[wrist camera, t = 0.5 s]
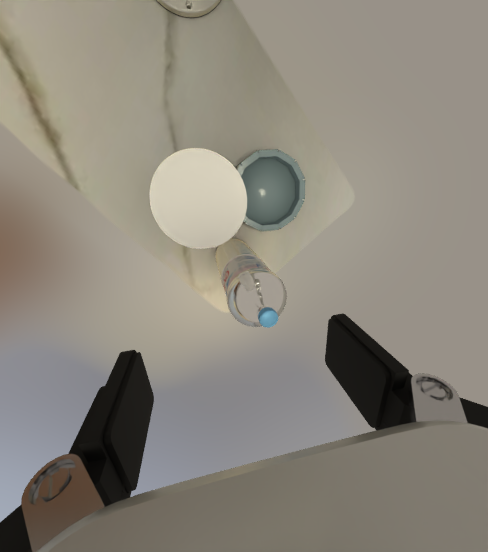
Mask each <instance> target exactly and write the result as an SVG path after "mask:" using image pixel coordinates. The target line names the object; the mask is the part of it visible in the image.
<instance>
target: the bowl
mask: <svg viewBox="0 0 488 552" xmlns="http://www.w3.org/2000/svg"><path fill="white" fill-rule="evenodd" d="M294 161H295V159H293V158H292V157H290V156H288V155H287V154H285V153H284V152H282V151H280V150H278V149H274V150H258V151H256V152H255V153H253V154H252V155H251V156H249V157H248V158H247V159H245V160H244V161H243V162H241V163H240V164H239V165H238V166H237V167H236V170H237V171H238V172H239V174H240V176H241V178H242V180H243V182H244V185H245V188H246V194H247V210H246V214H245V218H244V220H243V223H245V224H247V225H249V226H251V227H253V228H255V229H257V230H259V231H269V230H279V229H281V228H282V227H284V226H285V225H287V224H288V223H289V222H291V221H292V220H294V219H295V218H294V217H296V216H297V214H298V212H299V210H300V208H301V206H302V204H303V202H304V200H302V199H305V180H303V179H305V178H304V176H303V174H302V172H301V170H300V167H299V165H298V163H297V161H295V162H294Z"/></svg>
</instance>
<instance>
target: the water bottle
mask: <svg viewBox="0 0 488 552" xmlns="http://www.w3.org/2000/svg"><path fill="white" fill-rule="evenodd" d="M216 263H217V267H218V270H219V274H220V278H221V281H222V285H223V287H224V289H225V292H226V296H227V304H228V308H229V310H230V312H231V314H232V315H233V317H234V318H235V319H236V320H237V321H239V322H240V323H242V324H244V325H247V326H252V327H260V326H263V327H272V326H274V325H275V324H276V323H277V321H278V317H279V316H280V314H281V313H282V311H283V309H284V307H285V305H286V299H287V293H286V289H285V286H284V284H283V282H282V281H281V279H280V278H279V277H278V276H277V275H276V274H275V273H273V272H272V271H271V270H270V269H269V268H268V267H267V266H266V265H265V264H264V262H263V261H262V260H261V259H260V258H259V257H258V256H257V254H256V253H255V252H254V251H253V250H252V249H251V248H250V247H249V246H248V245H247V244H246V243H245V242H243V241H241V240H239V239H235V238H231V239H229V240H228V241H226V242H225V243H223V244H221V245H219V246H218V248H217V250H216Z"/></svg>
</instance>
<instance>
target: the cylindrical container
mask: <svg viewBox="0 0 488 552" xmlns="http://www.w3.org/2000/svg"><path fill="white" fill-rule="evenodd" d="M149 198H150V207H151V210H152V213H153V216H154V218H155V220H156V222H157V224H158V225H159V227H160V228H161V229H162V231H163V232H164V233H165V234H166V235H167V236H168V237H169V238H171V239H172V240H174V241H175V242H177V243H178V244H181V245H183V246H186V247H189V248H194V249H208V248H213V247H217V246H219V245H221V244H223V243H225V242H226V241H228V240H229V239H231V238H232V237H233V236H234V235H235V234H236V232H237V231H238V230H239V228H240V227H241V225H242V223H243V220H244V218H245V214H246V210H247V194H246V188H245V185H244V182H243V180H242V178H241V176H240V174H239V172H238V171H237V170H236V168H235V167H234V166H233V165H232V163H230V162H229V161H228V160H227V159H226V158H224V157H223V156H221V155H219V154H218V153H216V152H213V151H210V150H207V149H202V148H190V149H183V150H181V151H178V152H176V153H173V154H172V155H170V156H169V157H167V158H166V159H165V160H164V161H163V162H162V163H161V164H160V165H159V167H158V168H157V170H156V172H155V173H154V175H153V178H152V181H151V184H150V193H149Z"/></svg>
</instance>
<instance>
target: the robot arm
mask: <svg viewBox="0 0 488 552" xmlns="http://www.w3.org/2000/svg"><path fill="white" fill-rule="evenodd" d="M157 1H158V2H159V3H160V4H161V5H163V6H164V7H165V8H166V9H168V10H170V11H171V12H173V13H175V14H178V15H180V16H183V17H199V16H202V15H205V14H207V13H209V12H210V11H211V10H213V9H214V8H215V7H216V6H217V5H218V3H219V2H220V1H221V0H157ZM188 8H190V9H188ZM325 362H326V365H327V366H328V368H329V369H330V371H331V372H332V374H333V375H334V376H335V378H336V379H337V380H338V382H339V383H340V385H341V386H342V388H343V389H344V390H345V392H346V393H347V394H348V396H349V397H350V399H351V400H352V401H353V403H354V404H355V406H356V407H357V408H358V410H359V411H360V413H361V414H362V415H363V417H364V418H365V420H366V421H367V422H368V424H369V425H370V426H371V427H373V428H375V429H376V430H377V431H373V432H369V433H366V434H361V435H358V436H353V437H349V438H345V439H342V440H338V441H334V442H330V443H326V444H322V445H318V446H314V447H311V448H307V449H303V450H299V451H296V452H292V453H288V454H284V455H281V456H277V457H273V458H269V459H265V460H261V461H257V462H254V463H250V464H247V465H243V466H239V467H235V468H231V469H228V470H224V471H220V472H216V473H213V474H209V475H206V476H202V477H198V478H194V479H190V480H187V481H183V482H180V483H176V484H173V485H169V486H166V487H162V488H159V489H155V490H152V491H149V492H145V493H142V494H138V495H136V496H133V497H130V495H131V491H133V490H135V489H136V487H137V483H138V477H139V473H140V468H141V463H142V457H143V452H144V447H145V443H146V437H147V432H148V427H149V422H150V416H151V412H152V407H153V402H154V396H153V392H152V389H151V385H150V382H149V379H148V376H147V372H146V369H145V366H144V362H143V359H142V356H141V353H140V352H138V353H137V352H136V351H135V350H130V351H125V352H121V353H120V354H119V357H118V359H117V361H116V363H115V366H114V368H113V370H112V372H111V374H110V376H109V379H108V381H107V384H106V385H105V386H103V387H101V388H100V389H99V391H98V393H97V395H96V397H95V399H94V401H93V403H92V406H91V408H90V410H89V412H88V414H87V416H86V418H85V420H84V422H83V425H82V426H81V429H80V431H79V433H78V435H77V437H76V439H75V441H74V443H73V446H72V447H71V450H70V452H69V454H66V455H62V456H60V457H57V458H55V459H54V460H52V461H50V462H49V463H47V464H46V465H45V466H44V467H42V468H41V469H40V470H39V471H38V472H37V473H36V474H35V475H34V477H33V478H32V479H31V480H30V482H29V483H28V485H27V487H26V488H25V490H24V493H23V495H22V502H21V505H20V506H19V507H18V508H17V509H15V511H13V512H12V513H11V514H10V515H8V516H7V517H6V518H5V519H4V520H3V521H2V522H0V552H488V407H486V406H483V405H480V404H477V403H474V402H471V401H468V400H466V399H463V398H460V397H459V395H458V393H457V392H456V390H455V389H454V388H453V387H452V386H451V385H450V384H448V383H447V382H446V381H444V380H442V379H440V378H438V377H436V376H433V375H430V374H424V373H422V374H416V375H414V376H412V375H411V374H410V373H409V370H408V369H406V368H405V367H404V366H403V365H402V364H401V363H399V361H397V360H396V359H395V358H394V357H393V356H392V355H391V354H389V353H388V352H387V351H386V350H385V349H384V348H383V347H381V346H380V345H379V344H378V343H377V342H376V341H375V340H374V339H372V338H371V337H370V336H369V335H368V334H367V333H365V332H364V331H363V330H362V329H361V328H360V327H359V326H358V325H357V324H355V323H354V322H353V321H352V320H351V319H350V318H348V317H347V316H346V315H345V314H338V315H333V316H332V317H331V319H329V323H328V333H327V344H326V355H325Z"/></svg>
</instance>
